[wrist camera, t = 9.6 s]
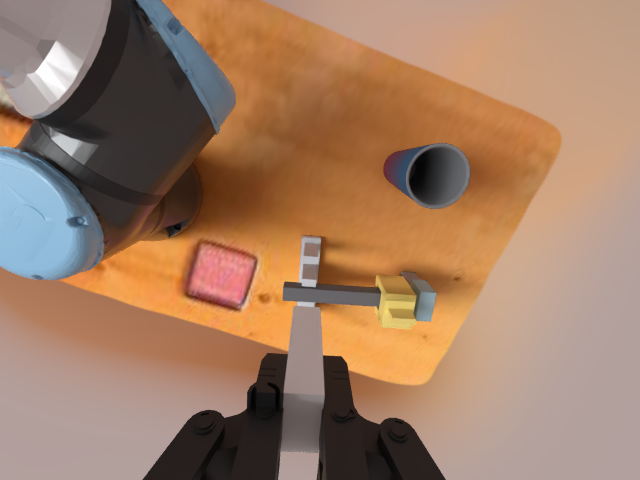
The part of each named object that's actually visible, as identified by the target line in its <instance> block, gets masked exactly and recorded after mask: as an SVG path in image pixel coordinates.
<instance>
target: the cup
mask: <svg viewBox="0 0 640 480" xmlns="http://www.w3.org/2000/svg"><path fill="white" fill-rule="evenodd" d="M384 175H385V177H386V179H387V180H388V181H389V182H390V183H392V184H393V185H394V186H395V187H397V188H398V189H399V190H401V191H402V192H403V193H405V194H406V195H407V196H409V197H410V198H411V199H412V200H414V201H415V202H416V203H418V204H419V205H421V206H423V207H425V208H430V209H439V208H444V207H447V206H449V205H451V204H453V203H454V202H456V201H457V200H458V199H459V198H460V197H461V196H462V195H463V193H464V192H465V190H466V188H467V186H468V183H469V180H470V165H469V162H468V160H467V157H466V156H465V154H464V153H463V152H462V151H461V150H460V149H459V148H457V147H455V146H453V145H451V144H447V143H437V144H431V145H427V146H422V147H417V148H412V149H407V150H403V151H398V152H395V153H393V154H391V155H390V156H389V157H388V158H387V160H386V161H385V164H384Z"/></svg>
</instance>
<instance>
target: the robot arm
mask: <svg viewBox="0 0 640 480" xmlns="http://www.w3.org/2000/svg"><path fill="white" fill-rule="evenodd" d="M0 84H1V86H2V87H3V89H4V90H5V92H6V94H7V95H8V97H9V99H10V100H11V102H12V103H13V105H14V107H15V108H16V110H17V111H18V112H19V113H21V114H22V115H24V116H26V117H28V118H30V119H33V120H35V121H34V122H33V124H32V125H31V127H30V128H29V130H28V131H27V133H26V134H25V135H24V137H23V139H22V140H21V142H20V143H19V144H18V145H17V146H16V147H15V148H10V147H0V266H1V267H2V268H4V269H6V270H8V271H10V272H12V273H15V274H18V275H20V276H23V277H27V278H31V279H37V280H42V279H44V280H59V279H63V278H67V277H70V276H72V275H75V274H77V273H80V272H83V271H87V270H90V269H92V268H93V267H94V266H96V265H97V264H99V263H100V262H102V261H103V260H105V259H107V258H109V257H111V256H113V255H115V254H116V253H118V252H120V251H122V250H124V249H126V248H127V247H129V246H131V245H133V244H135V243H137V242H138V241H160V240H164V239H168V238H171V237H173V236H175V235H177V234H179V233H180V232H182V231H183V230H185V229H186V228H187V227H188V226H190V225H191V223H192V222H193V221H194V220H195V218H196V217H197V215H198V213H199V210H200V207H201V203H202V185H201V181H200V177H199V175H198V172H197V170H196V168H195V167H194V165H193V163H192V162H193V161H194V159H195V158H196V157H197V156H198V154H199V153H200V152H201V151H202V150H203V148H204V147H205V146H206V145H207V143H208V142H209V141H210V140H211V138H212V137H213V136H214V135H217V134H218V133H219V130H220V126H221V125H222V124H223V122H224V121H225V119H226V118H227V117H228V115H229V114H230V113H231V111H232V110H233V108H234V106H235V103H236V94H235V91H234V88H233V86H232V84H231V83H230V81H229V80H228V78H227V77H226V76H225V74H224V73H223V72H222V71H221V69H220V68H219V67H218V65H217V64H216V63H215V62H214V61H213V59H212V58H211V57H210V56H209V54H208V53H207V52H206V51H205V50H204V49H203V47H202V46H201V45H200V44H199V43H198V41H197V40H196V39H195V38H194V37H193V36H192V35H191V34H190V32H189V31H188V30H187V29H186V28H185V27H184V26H182V25H181V23H180V21H179V20H178V19H177V18H176V17H175V16H174V15H173V14H172V12H171V11H170V10H169V8H168V7H167V6H166V5H165V4H164V3H163V2H162V1H161V0H0ZM280 451H285V452H308V453H319V464H318V473H317V480H446V479H445V478H444V476H443V475H442V473H441V471H440V470H439V468H438V467H437V465H436V463H435V462H434V460H433V459H432V457H431V456H430V454H429V453H428V451H427V449H426V448H425V446H424V445H423V443H422V441H421V440H420V438H419V437H418V435H417V433H416V432H415V430H414V429H413V428H412V427H411V426H410V425H409V424H408V423H407V422H405V421H404V420H401V419H398V418H388V419H385V420H384V421H383V422H382V423H381V424H377V423H374V422H370V421H368V420H366V419H364V418H363V417H362V416H360V415H359V414H358V412H357V410H356V409H355V407H354V404H353V398H352V391H351V385H350V380H349V374H348V366H347V363H346V362H345V360H344V359H343V358H342V356H324V355H323V350H322V330H321V309H320V307H304V306H294V309H293V317H292V325H291V334H290V342H289V351H288V354H274V353H268V354H267V355H266V356H265V357H264V358H263V359H262V361H261V365H260V370H259V374H258V378H257V382H256V383H254V384H253V385H252V386H250V388H249V390H248V392H247V409H246V410H245V411H243V412H242V413H240V414H238V415H234V416H231V417H226V418H224V417H223V416H222V414H221V413H219V412H217V411H214V410H205V411H201V412H199V413H197V414H195V415H193V416H192V417H191V418H190V419H189V420H188V421H187V422H186V424H185V425H184V426H183V427H182V429H181V430H180V431H179V433H178V434H177V435H176V437H175V438H174V439H173V441H172V442H171V443H170V445H169V446H168V447H167V448H166V450H165V451H164V452H163V454H162V455H161V456H160V458H159V459H158V460H157V461H156V463H155V464H154V465H153V467H152V468H151V469H150V471H149V472H148V473H147V475H146V476H145V477H144V479H143V480H278V474H279V465H280Z"/></svg>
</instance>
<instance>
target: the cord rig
mask: <svg viewBox="0 0 640 480" xmlns="http://www.w3.org/2000/svg"><path fill="white" fill-rule="evenodd" d="M320 247H321V237H320V236H306V235H302V244H301V258H300V273H299V283H297V282H284V287H283V301H298V303H297V306H304V307H315V306H316V303H330V304H346V305H361V306H377V307H379V305H380V298H381V290H380V288H374V287H358V286H343V285H328V284H317V282H318V271H319V259H320ZM401 276H403V277H404V278H405V280H406V281H407V282H408V284H409V285H410V287H411V288H412V290H413V291H414V292H415V294H416V295H417V297H416V302H415V307H414V313H413V315H414V316H415V318H416V321H429V322H431V318H432V313H433V308H434V303H435V298H436V292H435V291H434V290H433V288H432V287H431V286H430V285H429V284H428V283H427V281H426V280H421V279H420V278H419V277H418V276H417V275H416V273H415V272H402V273H401Z"/></svg>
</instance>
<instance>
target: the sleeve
mask: <svg viewBox="0 0 640 480" xmlns="http://www.w3.org/2000/svg"><path fill="white" fill-rule="evenodd" d="M375 288H380V290H381V298H380V305H379V307H377V306H373V307H374V310H375V312H376V315H377V317H378V320H379V323H380V325H381V327H384V328H401V329H411V325H415V324H416V318H415V316H414V315H413V313H414V307H415V302H416V297H417V295H416V294H415V292H414V291H413V290H412V288H411V287H410V285H409V284H408V282H407V281H406V280H405V278H404V277H403V276H394V275H379V274H377V276H376V283H375Z"/></svg>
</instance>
